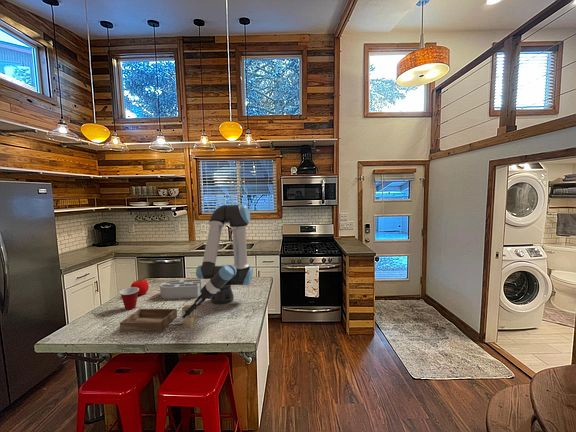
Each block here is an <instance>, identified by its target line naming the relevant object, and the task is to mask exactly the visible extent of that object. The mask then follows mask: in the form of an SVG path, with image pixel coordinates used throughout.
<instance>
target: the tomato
mask: <svg viewBox="0 0 576 432" xmlns="http://www.w3.org/2000/svg"><path fill="white" fill-rule="evenodd" d="M131 287H136V288H139V291H138V295H137V296H142V295H145V294H147V293H148V290H149V289H150V287H149V282H148V281H147V280H145V279H138V280H135V281H133V282H132V283H131V285H130V288H131Z"/></svg>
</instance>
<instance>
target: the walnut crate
mask: <svg viewBox="0 0 576 432" xmlns="http://www.w3.org/2000/svg"><path fill="white" fill-rule="evenodd" d="M177 309H178V308H139V309H138V310H136V311H134V312H133V313H131V314H130V315H129V316H126V318H124V319H123V320H122V321H120V322H119V332H120V333H162V332H163V331H164V330H165V329H166V328H168V327H169V325H171V324H172V323H173V322H174V321H175V320H176V319H177V318H178V310H177Z"/></svg>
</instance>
